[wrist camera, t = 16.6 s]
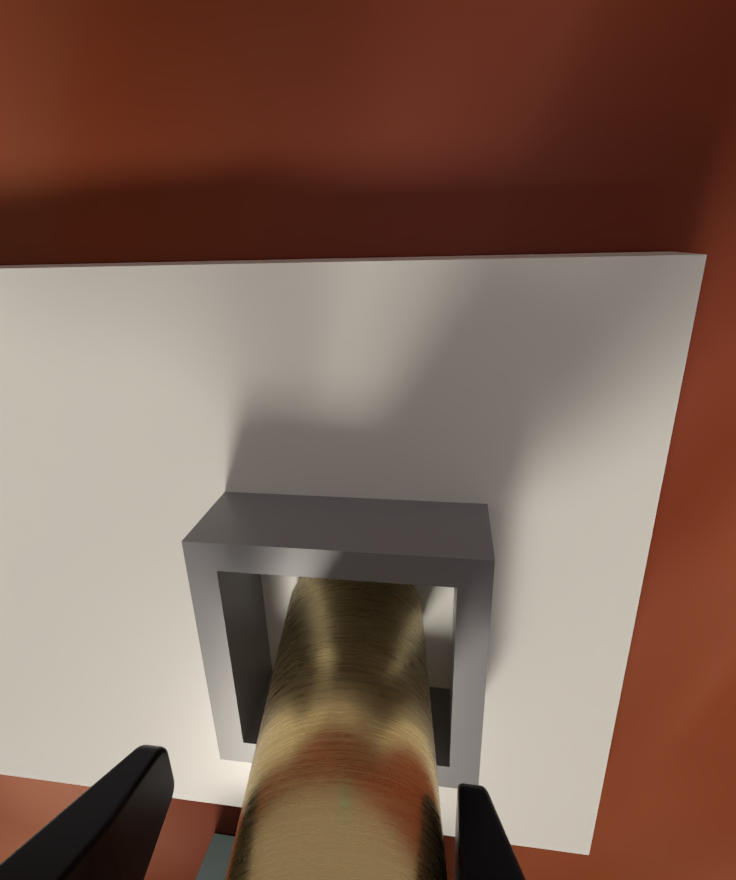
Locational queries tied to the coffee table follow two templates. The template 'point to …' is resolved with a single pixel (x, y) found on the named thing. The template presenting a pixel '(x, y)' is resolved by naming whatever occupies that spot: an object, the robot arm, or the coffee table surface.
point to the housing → (216, 858)
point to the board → (333, 502)
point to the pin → (345, 744)
